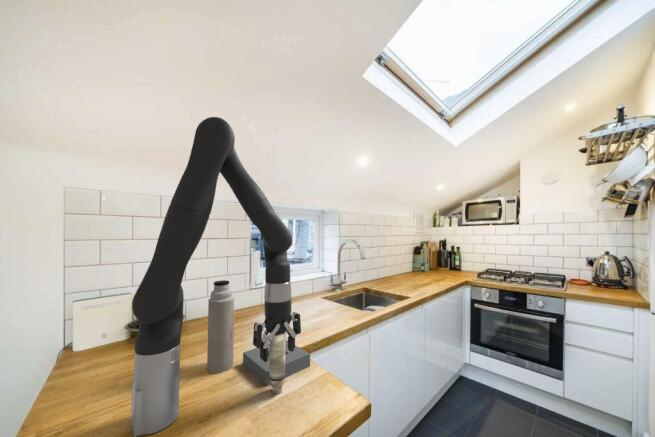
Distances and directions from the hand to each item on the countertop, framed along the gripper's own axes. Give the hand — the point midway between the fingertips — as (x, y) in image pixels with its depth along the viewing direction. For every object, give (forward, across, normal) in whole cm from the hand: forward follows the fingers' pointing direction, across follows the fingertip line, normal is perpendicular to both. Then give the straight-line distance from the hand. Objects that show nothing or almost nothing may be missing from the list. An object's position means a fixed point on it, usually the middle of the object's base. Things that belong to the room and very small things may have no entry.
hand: (278, 355), depth 72 cm
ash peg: (+10, 0, 0) cm, 10 cm away
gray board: (+10, +7, +12) cm, 17 cm away
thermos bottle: (+10, -7, +24) cm, 27 cm away
